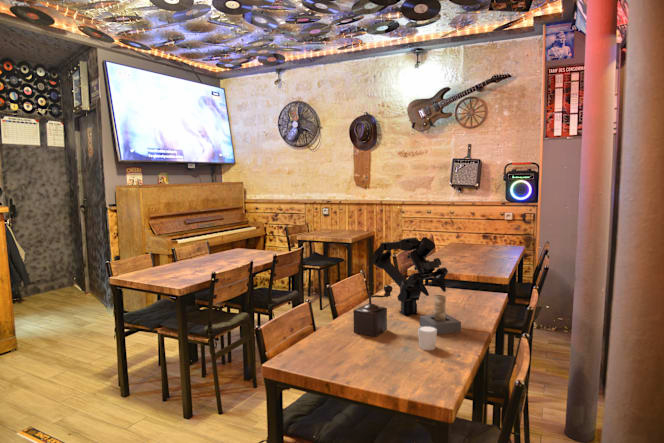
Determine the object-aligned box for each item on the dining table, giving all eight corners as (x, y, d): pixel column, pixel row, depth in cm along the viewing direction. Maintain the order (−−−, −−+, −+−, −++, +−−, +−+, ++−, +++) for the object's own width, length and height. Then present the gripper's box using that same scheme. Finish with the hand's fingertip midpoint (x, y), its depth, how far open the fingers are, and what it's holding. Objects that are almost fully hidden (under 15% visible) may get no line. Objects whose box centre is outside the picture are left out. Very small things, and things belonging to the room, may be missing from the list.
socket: (434, 334, 167) (434, 325, 167) (419, 325, 178) (419, 316, 178) (460, 331, 170) (460, 321, 170) (444, 322, 182) (444, 313, 182)
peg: (434, 329, 173) (435, 297, 171) (433, 326, 177) (433, 294, 176) (445, 330, 172) (446, 298, 171) (444, 326, 176) (444, 295, 175)
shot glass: (415, 349, 153) (415, 330, 153) (420, 342, 159) (420, 324, 159) (434, 352, 150) (434, 333, 150) (438, 345, 156) (439, 327, 156)
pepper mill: (376, 337, 165) (376, 292, 163) (352, 332, 171) (352, 289, 170) (394, 326, 178) (394, 284, 176) (372, 321, 184) (371, 281, 182)
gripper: (411, 255, 175) (428, 288, 168) (445, 249, 183) (463, 280, 176) (399, 269, 184) (415, 301, 176) (433, 262, 192) (449, 292, 184)
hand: (436, 293), depth 178 cm, fingers open, 9 cm apart
